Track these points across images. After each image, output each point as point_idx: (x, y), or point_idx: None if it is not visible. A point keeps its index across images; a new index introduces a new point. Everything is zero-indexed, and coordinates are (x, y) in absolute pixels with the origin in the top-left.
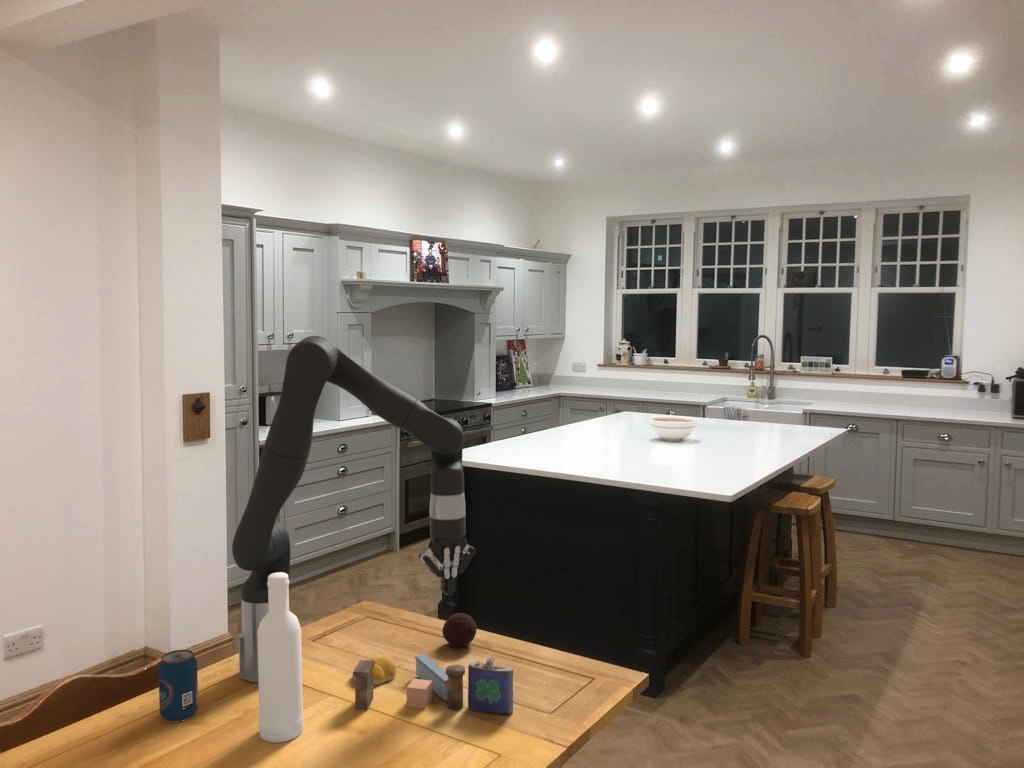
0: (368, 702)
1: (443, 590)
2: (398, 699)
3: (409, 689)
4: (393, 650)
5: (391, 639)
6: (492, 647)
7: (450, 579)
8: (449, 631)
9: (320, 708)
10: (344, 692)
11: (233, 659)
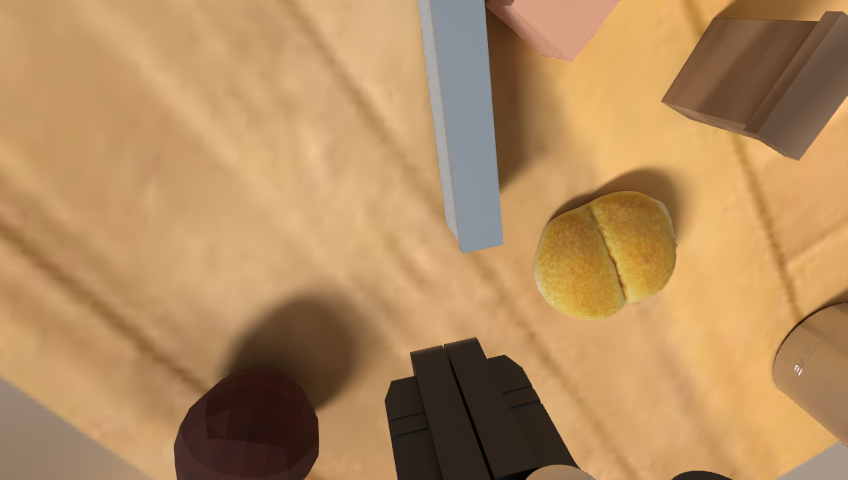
0: (718, 34)
1: (525, 375)
2: (593, 58)
3: None
4: None
5: None
6: (132, 359)
7: (487, 468)
8: (303, 419)
9: None
10: (714, 177)
11: None
